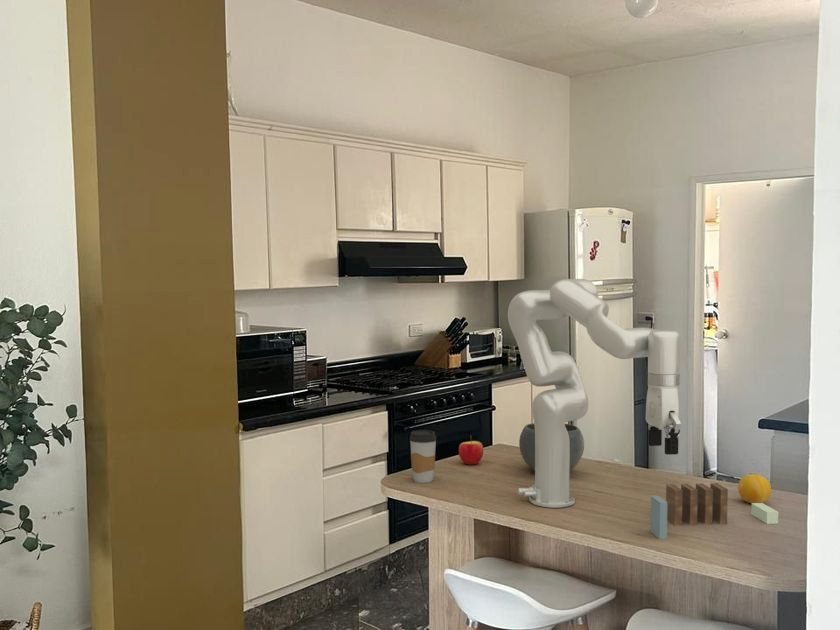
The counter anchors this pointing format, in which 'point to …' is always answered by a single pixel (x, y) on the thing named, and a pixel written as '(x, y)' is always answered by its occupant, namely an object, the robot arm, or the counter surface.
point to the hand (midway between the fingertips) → (663, 449)
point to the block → (764, 513)
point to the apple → (471, 452)
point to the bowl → (529, 445)
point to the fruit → (754, 488)
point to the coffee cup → (423, 455)
